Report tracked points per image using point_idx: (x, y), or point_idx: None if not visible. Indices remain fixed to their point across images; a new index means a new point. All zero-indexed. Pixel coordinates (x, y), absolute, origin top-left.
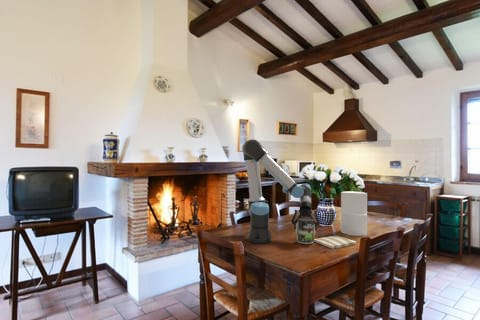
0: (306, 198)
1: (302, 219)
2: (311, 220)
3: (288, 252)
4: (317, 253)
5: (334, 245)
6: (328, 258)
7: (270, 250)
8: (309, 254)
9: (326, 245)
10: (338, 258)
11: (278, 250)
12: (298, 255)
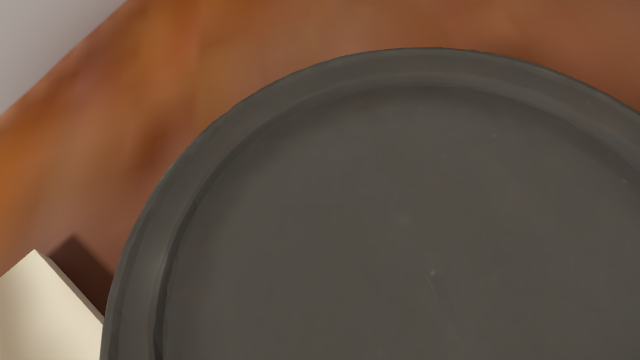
0: None
1: (534, 226)
2: (202, 228)
3: (440, 29)
4: (214, 90)
5: (4, 288)
6: (138, 34)
7: (590, 15)
8: (276, 50)
9: (101, 318)
10: (65, 58)
11: (534, 36)
12: (350, 9)
